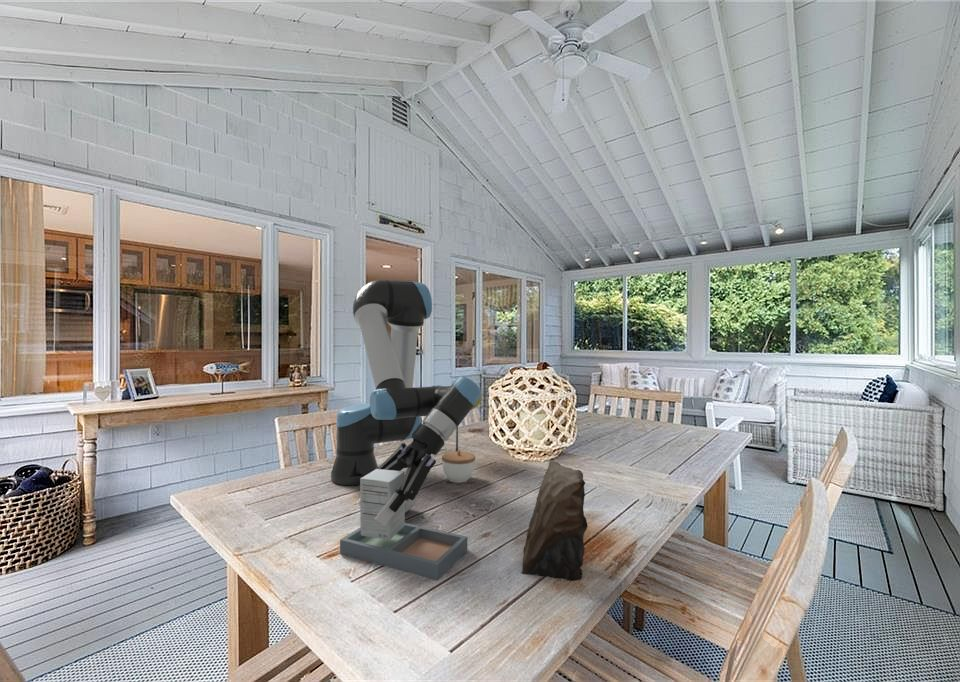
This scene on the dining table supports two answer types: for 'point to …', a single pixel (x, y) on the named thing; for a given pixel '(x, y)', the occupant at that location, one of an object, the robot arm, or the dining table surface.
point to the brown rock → (557, 526)
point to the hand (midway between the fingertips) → (369, 514)
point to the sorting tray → (408, 550)
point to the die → (409, 504)
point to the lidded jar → (458, 466)
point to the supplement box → (380, 503)
